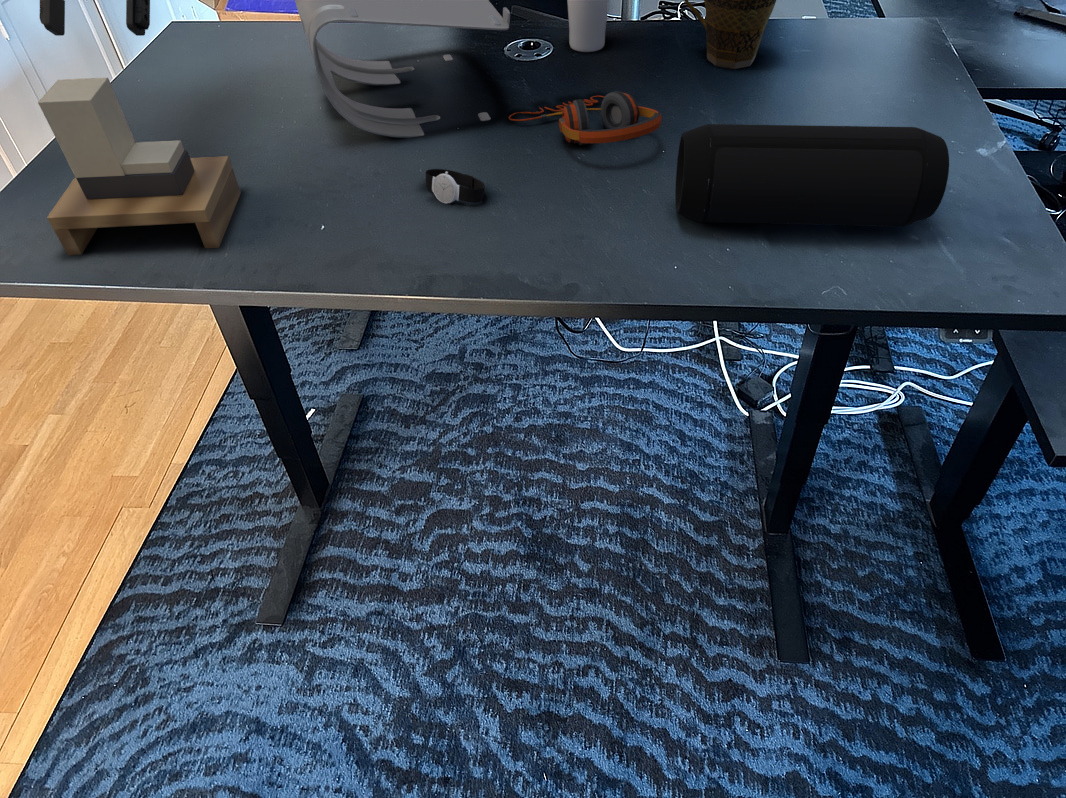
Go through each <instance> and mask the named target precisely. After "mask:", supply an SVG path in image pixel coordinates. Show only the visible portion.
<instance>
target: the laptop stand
mask: <svg viewBox="0 0 1066 798" xmlns="http://www.w3.org/2000/svg"><path fill="white" fill-rule="evenodd" d="M294 2H295V6H296V9H297V13H298V16H299V19H300V23H301V26H302V29H303V32H304V35H305V38H306V41H307V46H308V48H309V51H310V55H311V58H312V61H313V65H314V67H315V71H316V74H317V77H318V80H319V83H320V85H321V88H322V90H323V92H324V94H325V96H326V98H327V99H328V102H329V103H330V104H331V105H332V107H333V109H335V111H336V112H338V114H339V115H340V116H341V117H343V118H344V119H345V120H346V121H347V122H349V123H350V124H351V125H353V126H354V127H356V128H357V129H359V130H362V131H364V132H367V133H371V134H375V135H379V136H385V137H390V138H407V139H409V138H416V137H422V136H425V133H424V130H423V128H422V127H421V125H420V124H423V123H430V122H435V121H439V120H440V119H441V116H440V115H437V114H434V115H427V116H422V117H416V115H415V112H414V110H413V108H411V107H405V108H401V107H400V108H392V107H391V108H390V107H389V108H388V107H380V106H374V105H370V104H366V103H363V102H358V101H356V100H353V99H352V98H351V99H350V98H349V97H348V96H346V95H345V94H344V93H342V92H341V91H340V90H339V89H338V88H337V86H336V83H335V80H334V77H333V75H335V76H336V77H338V78H340V79H344V80H346V81H348V82H353V83H356V84H357V83H358V84H362V85H367V86H368V85H369V86H374V87H375V86H378V87H381V86H382V87H383V86H385V87H388V86H392V85H393V86H394V85H398V84H401V80H400V79H399V77H397V75H396V74H401V73H408V72H412V71H414V70H415V67H414V66H404V67H398V68H393V67H392V65H391V62H390V61H389V60H378V61H377V60H361V59H356V58H355V59H354V58H351V57H346V56H343V55H339V54H337V53H334V52H333V51H331V50H329V49H328V48H326V46H324V45H323V44H322V43H321V42H320V41H319V40H318V39H317V35H318V33H319V31H320V30H321V29H322V28H323V27H324V26H327V25H329V24H332V23H355V24H371V25H372V24H373V25H392V26H411V27H429V28H430V27H432V28H449V29H451V28H452V29H468V30H485V31H486V30H487V31H508V30H509V29H510V22H511V12H510V10H509V9H508V8H507V7H506V6H505V7H503V8H502V15H501V14H500V13H499V12H498V10H497V9H496V8H495V6H494V5H493V4H492V3H491V1H490V0H294ZM442 57H443V59H444V60H445V62H450V61H453V60H454V57H452V55H451V54H444V55H442ZM477 117H478V119H479V120H480V121H481V122H487V121H490V120H491V119H492V118H491V117H490V115H489V113H488V112H486V111H484V112H479V113H478V114H477Z"/></svg>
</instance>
